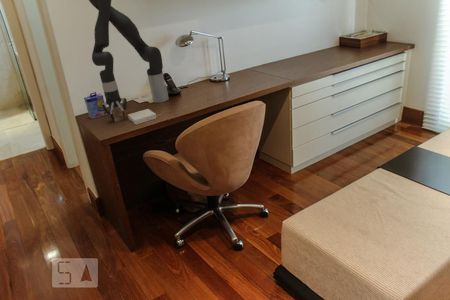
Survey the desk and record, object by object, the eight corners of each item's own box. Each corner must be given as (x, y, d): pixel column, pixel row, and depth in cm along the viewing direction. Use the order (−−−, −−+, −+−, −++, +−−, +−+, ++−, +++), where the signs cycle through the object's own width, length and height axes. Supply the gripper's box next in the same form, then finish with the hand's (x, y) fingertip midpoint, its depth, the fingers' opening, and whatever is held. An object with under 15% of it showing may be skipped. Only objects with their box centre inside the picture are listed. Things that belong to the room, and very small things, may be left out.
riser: (148, 112, 207) (147, 108, 206) (156, 118, 198) (155, 113, 197) (128, 118, 202) (127, 114, 201) (135, 124, 193) (134, 119, 191)
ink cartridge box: (92, 119, 208) (84, 95, 202) (89, 117, 212) (81, 93, 206) (108, 114, 213) (101, 90, 207) (105, 112, 217) (98, 89, 211)
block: (121, 117, 205) (119, 107, 203) (124, 119, 201) (121, 109, 199) (113, 120, 203) (110, 109, 200) (115, 122, 199) (112, 112, 196)
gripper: (121, 84, 200) (128, 113, 208) (95, 91, 194) (103, 120, 202) (125, 87, 194) (132, 116, 202) (99, 94, 188) (107, 124, 196)
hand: (118, 118), depth 202 cm, fingers closed on block, 5 cm apart
